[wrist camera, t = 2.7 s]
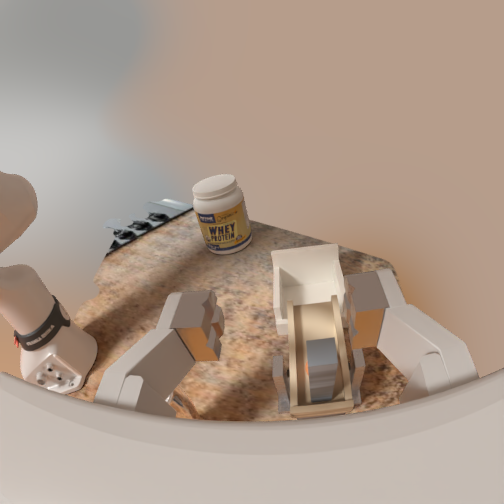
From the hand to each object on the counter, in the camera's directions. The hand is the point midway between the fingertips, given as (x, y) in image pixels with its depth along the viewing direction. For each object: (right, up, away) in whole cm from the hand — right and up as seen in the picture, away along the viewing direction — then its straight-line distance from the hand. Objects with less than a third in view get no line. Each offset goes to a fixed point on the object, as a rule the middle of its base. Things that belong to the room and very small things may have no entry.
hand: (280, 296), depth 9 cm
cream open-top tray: (+10, -8, +41) cm, 43 cm away
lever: (+8, -14, +27) cm, 31 cm away
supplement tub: (-6, +4, +64) cm, 64 cm away
